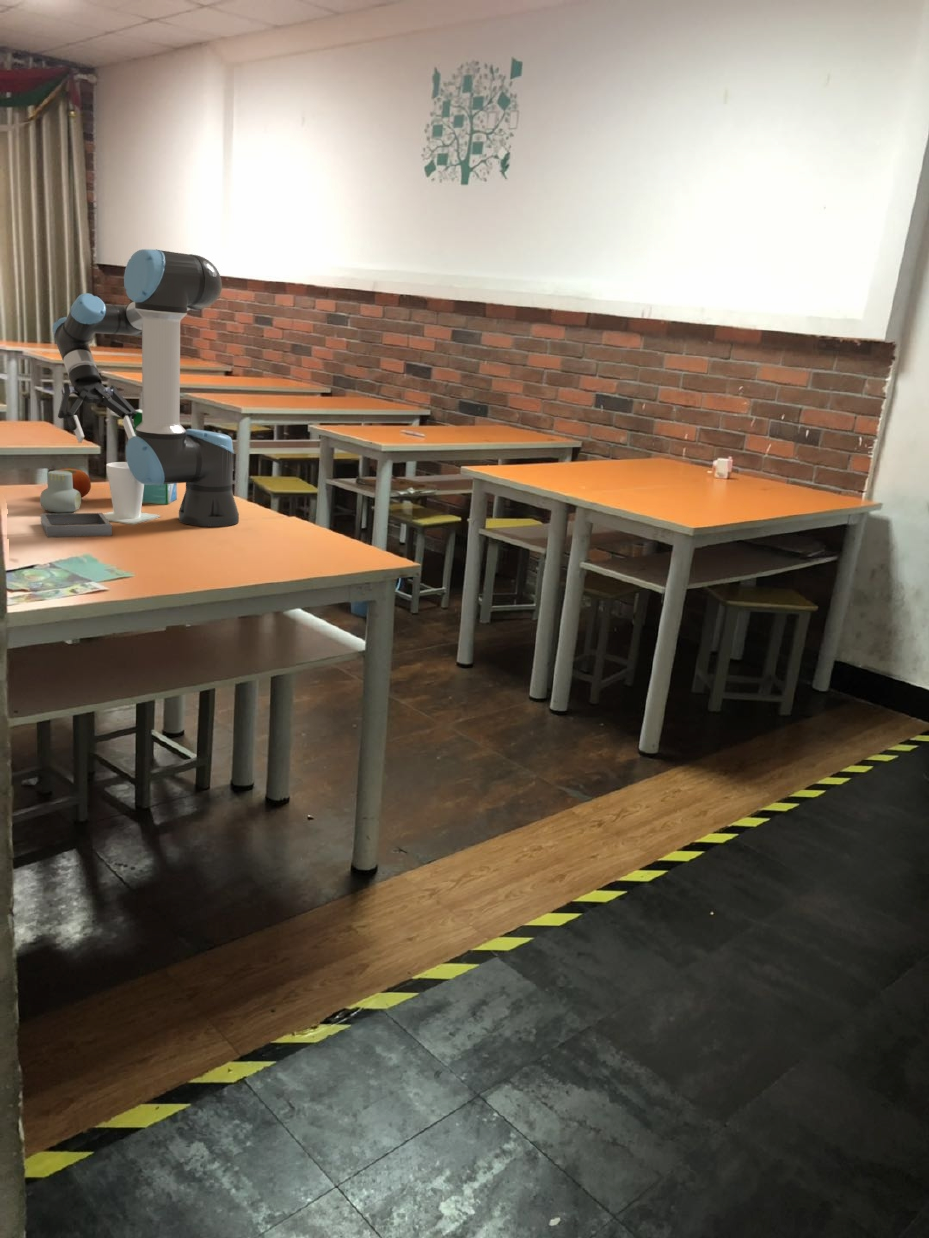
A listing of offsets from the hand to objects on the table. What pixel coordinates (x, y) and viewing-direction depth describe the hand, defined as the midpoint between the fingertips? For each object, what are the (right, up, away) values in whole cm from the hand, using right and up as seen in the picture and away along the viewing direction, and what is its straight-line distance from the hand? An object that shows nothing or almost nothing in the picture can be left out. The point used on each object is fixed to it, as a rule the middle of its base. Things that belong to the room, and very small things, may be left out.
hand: (107, 439), depth 247 cm
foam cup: (+6, -20, -2) cm, 21 cm away
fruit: (-15, -14, +14) cm, 25 cm away
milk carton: (+6, -13, +21) cm, 26 cm away
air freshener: (-11, -19, -1) cm, 22 cm away
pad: (+6, -20, -2) cm, 21 cm away
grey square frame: (0, -25, -19) cm, 32 cm away
